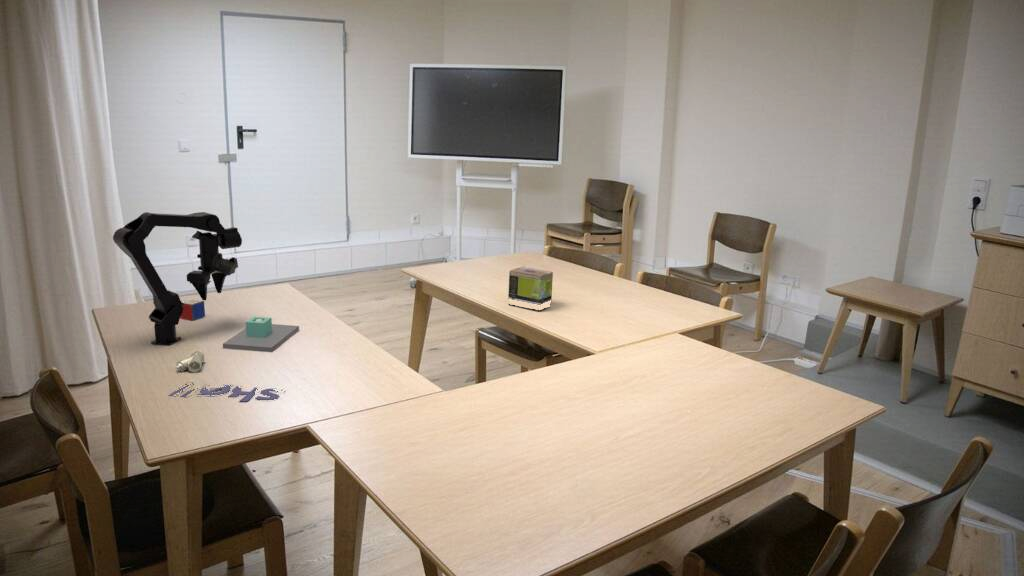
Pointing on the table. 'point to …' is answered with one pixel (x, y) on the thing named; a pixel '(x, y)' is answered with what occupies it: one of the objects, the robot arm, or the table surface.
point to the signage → (235, 391)
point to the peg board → (262, 339)
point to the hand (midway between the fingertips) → (212, 296)
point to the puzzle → (193, 309)
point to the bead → (258, 327)
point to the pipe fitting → (191, 362)
